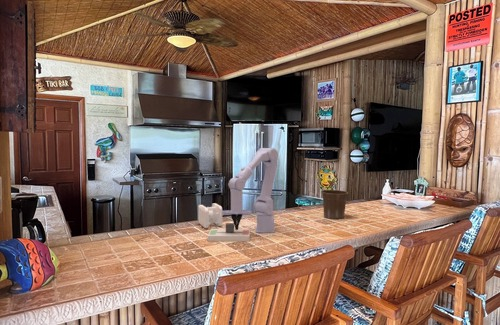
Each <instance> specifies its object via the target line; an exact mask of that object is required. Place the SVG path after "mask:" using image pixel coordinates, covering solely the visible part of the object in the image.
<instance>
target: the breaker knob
mask: <svg viewBox="0 0 500 325" xmlns="http://www.w3.org/2000/svg"><path fill="white" fill-rule="evenodd" d="M225 229H226V233H234V229H235V225H234V222H232V223H229V222H226V223H225Z"/></svg>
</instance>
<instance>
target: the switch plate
mask: <svg viewBox="0 0 500 325" xmlns="http://www.w3.org/2000/svg"><path fill="white" fill-rule="evenodd" d="M250 237H251V229H250V228H248V229H247V228H238V230H235V228H234V233H226V228H211V229H210V230H209V232H208V234H207V242H250V239H251V238H250Z"/></svg>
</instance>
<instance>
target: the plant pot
mask: <svg viewBox="0 0 500 325" xmlns="http://www.w3.org/2000/svg"><path fill="white" fill-rule="evenodd" d="M348 195H349V192H348V191H345V190H340V189H339V190H336V189H324V190H321V198H322V205H323V217H325V218H327V219H330V220H337V219H338V220H343V219H344V218H345V211H346V205H347V204H346V202H347V199H348Z"/></svg>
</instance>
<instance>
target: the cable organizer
mask: <svg viewBox="0 0 500 325" xmlns="http://www.w3.org/2000/svg"><path fill="white" fill-rule="evenodd" d="M197 206H198V211H197V212H198V214H197V215H198V223H199V224H200V226H202V227H203V228H204V229H208V228H209V227H210V226H211V224H214V225H216V226H218V227H221V226H223V215H222V211H223V207H222V206H221V205H220V204H218V203H216V202H215V203H211V206H210V207H209V206H207V207H206V206H205V205H204V204H198V205H197Z"/></svg>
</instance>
